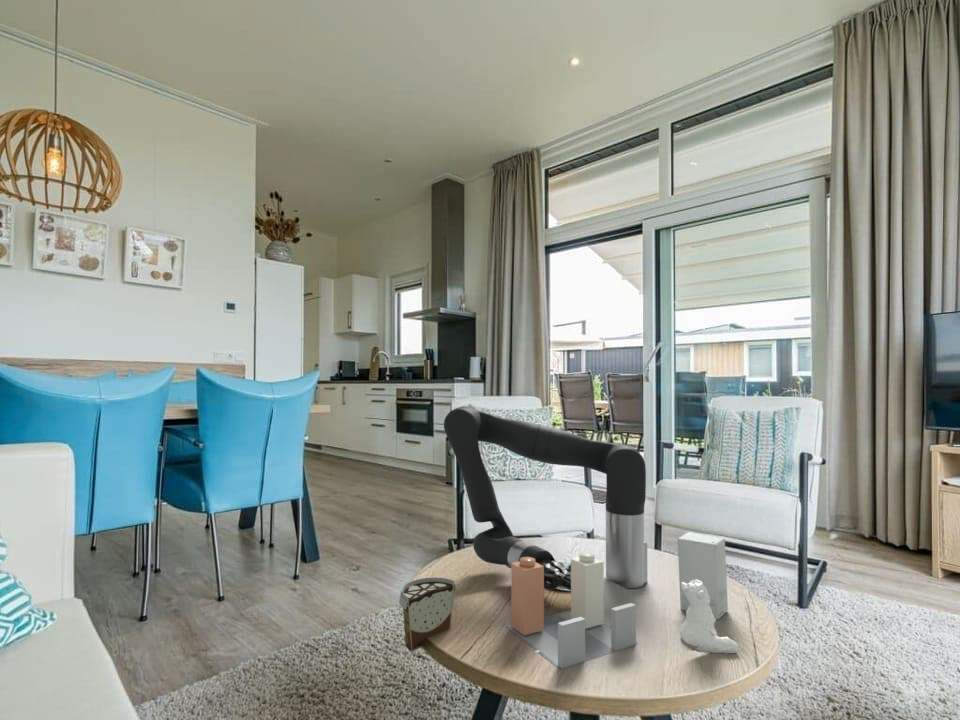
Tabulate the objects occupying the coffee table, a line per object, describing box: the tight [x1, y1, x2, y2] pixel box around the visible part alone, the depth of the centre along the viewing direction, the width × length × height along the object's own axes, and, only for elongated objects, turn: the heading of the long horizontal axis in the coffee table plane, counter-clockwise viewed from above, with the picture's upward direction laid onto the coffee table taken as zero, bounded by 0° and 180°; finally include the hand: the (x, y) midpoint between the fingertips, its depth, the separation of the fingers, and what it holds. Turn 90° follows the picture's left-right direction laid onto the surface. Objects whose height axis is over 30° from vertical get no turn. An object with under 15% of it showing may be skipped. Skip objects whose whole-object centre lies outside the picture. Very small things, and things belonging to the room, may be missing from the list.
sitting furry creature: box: [679, 580, 739, 654], centre depth 97 cm, size 10×9×12 cm
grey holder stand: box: [505, 602, 639, 671], centre depth 98 cm, size 18×17×8 cm
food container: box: [398, 577, 457, 653], centre depth 100 cm, size 12×6×10 cm, turn 135°
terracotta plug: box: [510, 557, 545, 636], centre depth 101 cm, size 4×4×13 cm
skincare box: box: [677, 531, 729, 621], centre depth 113 cm, size 8×7×16 cm
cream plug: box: [570, 552, 605, 629], centre depth 103 cm, size 4×4×13 cm
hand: (579, 587), depth 106 cm, fingers closed
